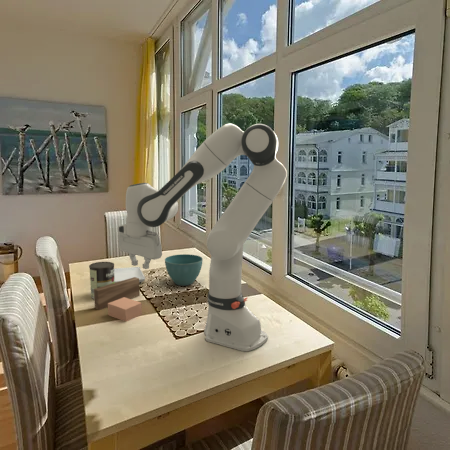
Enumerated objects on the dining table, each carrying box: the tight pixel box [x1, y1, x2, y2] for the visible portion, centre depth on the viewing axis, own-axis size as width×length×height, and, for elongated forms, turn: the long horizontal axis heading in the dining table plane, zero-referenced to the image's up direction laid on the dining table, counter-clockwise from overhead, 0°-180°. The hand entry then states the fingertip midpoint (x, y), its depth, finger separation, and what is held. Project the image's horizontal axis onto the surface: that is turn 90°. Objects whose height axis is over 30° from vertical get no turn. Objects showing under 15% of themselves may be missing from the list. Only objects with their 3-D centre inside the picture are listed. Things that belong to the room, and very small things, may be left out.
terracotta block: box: [107, 297, 143, 323], centre depth 138 cm, size 10×8×5 cm
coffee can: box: [88, 261, 115, 299], centre depth 157 cm, size 10×10×14 cm
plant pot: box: [164, 253, 204, 287], centre depth 175 cm, size 18×18×12 cm
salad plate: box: [114, 266, 146, 284], centre depth 179 cm, size 21×21×3 cm
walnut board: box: [94, 277, 141, 311], centre depth 150 cm, size 3×20×8 cm, turn 142°
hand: (140, 266), depth 129 cm, fingers open, 5 cm apart
